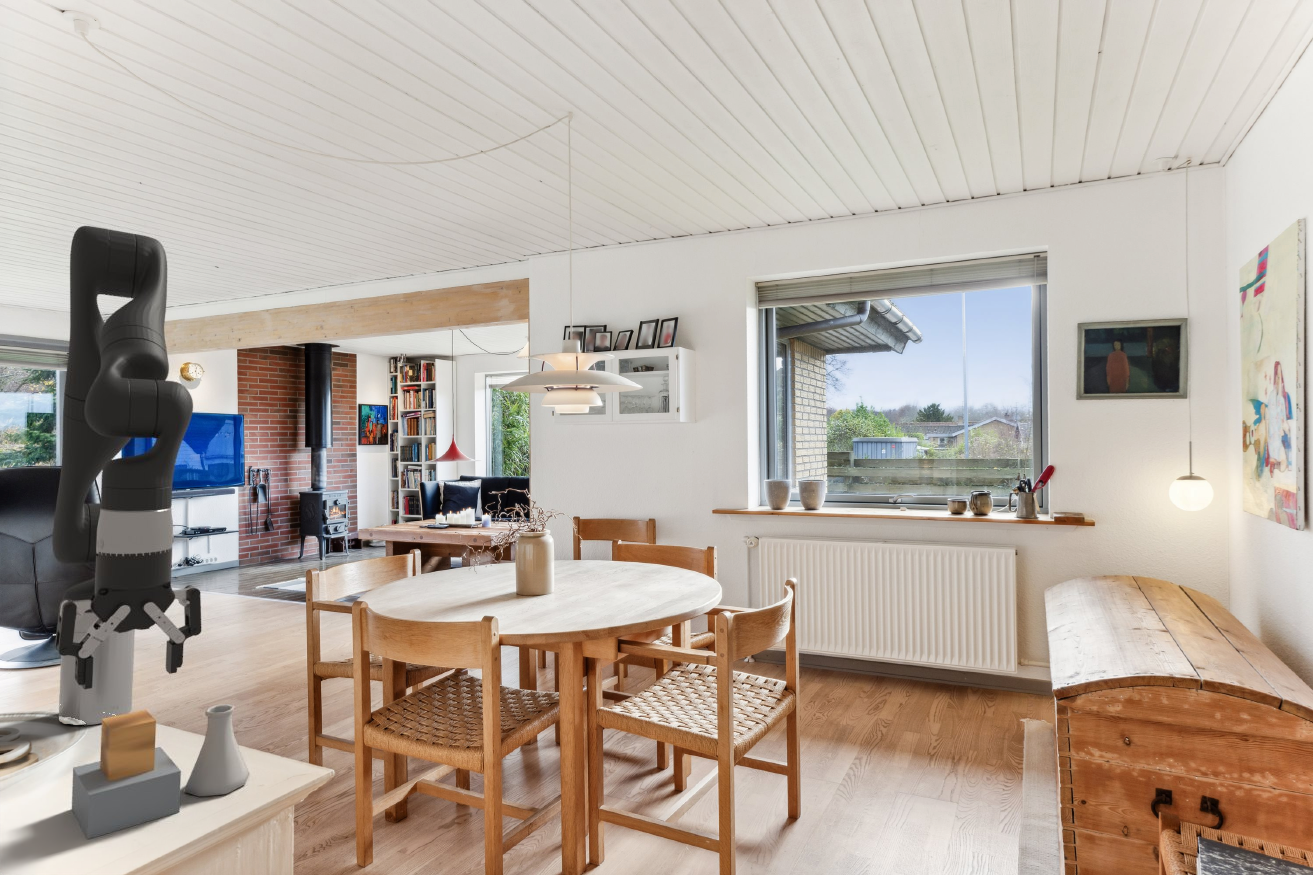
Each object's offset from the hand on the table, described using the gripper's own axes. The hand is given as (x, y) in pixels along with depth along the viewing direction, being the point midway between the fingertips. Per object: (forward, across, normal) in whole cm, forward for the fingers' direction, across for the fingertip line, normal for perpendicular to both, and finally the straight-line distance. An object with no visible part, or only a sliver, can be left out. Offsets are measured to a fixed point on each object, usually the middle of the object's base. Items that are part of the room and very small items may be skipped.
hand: (130, 679), depth 91 cm
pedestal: (+16, 0, 0) cm, 16 cm away
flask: (+16, -10, 0) cm, 19 cm away
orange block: (+11, 0, 0) cm, 11 cm away
